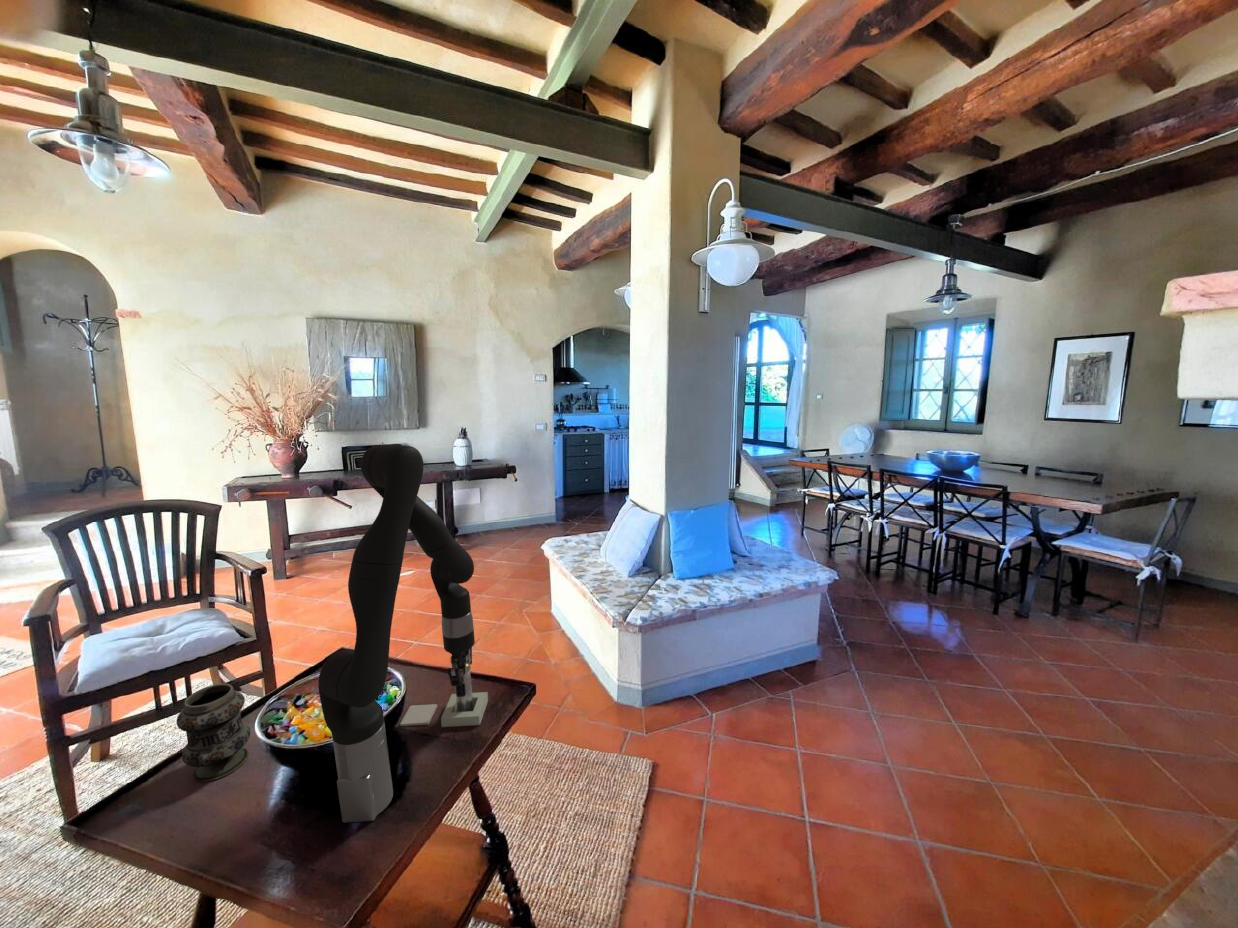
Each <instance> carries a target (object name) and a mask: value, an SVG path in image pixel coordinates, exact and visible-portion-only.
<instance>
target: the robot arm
mask: <svg viewBox="0 0 1238 928" xmlns="http://www.w3.org/2000/svg"><path fill="white" fill-rule="evenodd" d="M360 470H361V474H362V476H363V478H364V479H365V480H366V482H367V483H368V484H369V485H370V487H372V488H373V490H374V491H375V492H376V493H377V494H378V495H380V497H381V498H382V502H381V506H380V509H379V511H378V514H377V516H376V517H375V519H374V521H373V523H371V525H370V526H369V527H368V529H367V531H366V532H365V533H364V534H363V536H362V538H361V539H360V540H359V542H358V544H357V546H355V549H354V552H353V556H352V560H351V563H350V570H349V575H348V583H347V588H348V589H347V590H348V596H349V601H350V605H351V609H352V613H353V616H354V621H355V629H356V634H355V635H356V636H355V645H354V649H353V648H351V649H350V648H346V649H341V650H337V651H336V652H333V654H332V655H330V656H329V657H328V658H327V659H326V660H325V661H324V664H323V665H322V667H321V670H320V672H319V676H318V684H317V687H318V697H319V700H320V704H321V705H320V706H321V708H322V715H323V719H324V723H325V725H326V727H327V728H328V729H329V731H330V734H331V738H332V744H333V750H334V757H335V765H336V766H335V767H336V772H337V780H336V787H337V793H338V800H339V806H340V807H339V808H340V813H341V820H342V821H341V822H342V823H353V822H354V823H355V822H356V823H357V822H358V823H359V822H372V821H375V820H376V818H377V816H379V814H380V813H382V812H383V811H384V810H386V808H387V807H388V806H389V804H390V803H391V802H392V799H393V796H394V788H393V787H394V786H393V780H392V773H391V765H390V757H389V756H390V755H389V748H388V742H387V734H386V725H385V717H384V712H383V710H382V707H381V706H380V705H379V704H378V703H377V702H376V701H375V699H376V698H377V697H378V696H379V694H380V693H381V691H382V689H383V686H384V683H385V684H386V680H387V675H388V669H389V660H390V659H389V657H390V645H391V644H390V643H391V633H392V632H391V631H392V623H393V616H394V611H395V603H396V596H397V593H398V588H399V583H400V579H401V572H402V568H403V567H402V566H403V563H404V562H403V561H404V553H405V547H406V543H407V538H408V533H409V531H410V532H411V534H412V535H413V537H414V538H415V540H416V541H417V543H418V544H419V546H420V548H421V549H422V551H423V552H424V554H425V555H426V556H427V557H429V558H430V559H432V561H431V563H430V576H431V577H430V578H431V580H432V583H433V585H434V588H435V591H436V593H437V596H438V598H439V601H440V609H441V611H440V612H441V632H442V641H443V649H444V651H445V652H447V653H449V654H451V656H450V664H451V667H448V669H447V675H448V678H449V681H450V685H451V687H455V686H456V690H455V694H456V696H457V697H464V696H465V694H466V689H465V673H466V672H467V661H469V663H470V670H471V669H472V667H471V665H472V664H473V647H474V645H475V644H476V643H475V642H476V640H475V631H474V630H475V629H474V627H475V626H474V618H473V613H472V606H471V605H472V604H471V595H470V592H469V590H468V589H467V588H465V587H464V586H462V585H460V584H464V583H465V584H466V583H467V582H468V581H470V580H471V578H472V577H473V575H474V572H475V563H474V561H473V559H472V558H473V557H472V556H471V555H470V553H468V551H467V550H466V549H465V548H464V547H463V546H462V545H461V544H460V543H459V542H458V541H457V540H455V539H454V538H453V536H452V534H451V532H450V530H449V529H448V527H447V525H446V524H445V522H444V521H443V519H442V518H441V517H440V516H439V514H438V513H437V512H436V511H435V510H434V509H433V508H432V507H430V505H428V504H427V503H426V502H425V501H424V500H423V499H421V497H419V496H418V494H419V491H420V487H421V483H422V480H423V479H422V478H423V475H424V459H423V456H422V453H421V451H419V449H417V448H416V447H414V446H411V445H402V444H399V445H398V444H377V445H373V446H370V447H369V448H368V449H366V451H365V452H364V453H363V455H362V456H361V460H360ZM460 669H463V671H460ZM461 675H462V677H461Z"/></svg>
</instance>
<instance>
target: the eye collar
mask: <svg viewBox="0 0 1238 928" xmlns="http://www.w3.org/2000/svg"><path fill="white" fill-rule="evenodd" d="M472 696H473V708H474V710H473V711H468V712H458V711H457V701H456V693H452V694H451V695H450V697H449V700H448V702H447V704H446V706H445V708H444V711H443V712H442V715H441V717H440V724H441V728H449V727H451V728H453V727H466V726H468V727H469V726H480V725H481V723H482V720H483V717H484V713H485V712H486V708H487V705H488V702H489V694H488V691H481V692H472Z"/></svg>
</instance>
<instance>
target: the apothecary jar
mask: <svg viewBox="0 0 1238 928" xmlns="http://www.w3.org/2000/svg"><path fill="white" fill-rule="evenodd" d="M245 701H246V700H245V696H244V695H243V693H242V692H240V691H238V690H235V689H234V686H233V685H232V684H229V683H217V684H212V685H208V686H205V687H204V688H201V689H198V690H196V691H195V692H192V694H190V695H189V696H188V697H187V698H186V699H185V700H184V703H183V705H184V708H183V709H182V710H181V711H180V712H179V714H178V715H177V718H176V725H177V726H176V727H178V729H180V730H181V731H183V732H185V733H186V741H187V744H185V746H184V748H183V749H182V753H181V760H182V762H183V763H184V764H185V765H186V766H190V767H193V768H196V769H195V770H194V772H193V774H194V775H192V776H194V777H193V780H195V781H196V780H197V782H198V781H199V782H198V783H207V782H208V781H209V782H212V781H217V780H218V779H222V778H224V777H227V776H228V775H230V774H231V773H233V772H235V771H236V770H238V769H239V768H240V767H241V766H243V765H244V764H245V762H246V761H247V759H248V758H249V751H248V749H247V748H244V746H245V745H246V744H247V742H248V741H249V739H250V737H251V728H250V726H249V725H248V724H247V723H245V722H243V721H242V717H241V716H242V714H241V710H242V709H243V708H244V705H245Z"/></svg>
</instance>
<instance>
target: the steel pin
mask: <svg viewBox="0 0 1238 928" xmlns="http://www.w3.org/2000/svg"><path fill="white" fill-rule="evenodd" d="M470 667H471V665H470V663H469V661H467V672H466V673H465V689H466V694H465V696H464V697H457V696H456V701H457V711H456V712H468V711H473V710H474V706H473V696H472V693H473V689H472V688H473V687H472V676H471V674H472V673H471V669H470ZM460 671H463V669H460ZM461 677H462V675H461ZM454 691H456V686H454Z"/></svg>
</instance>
